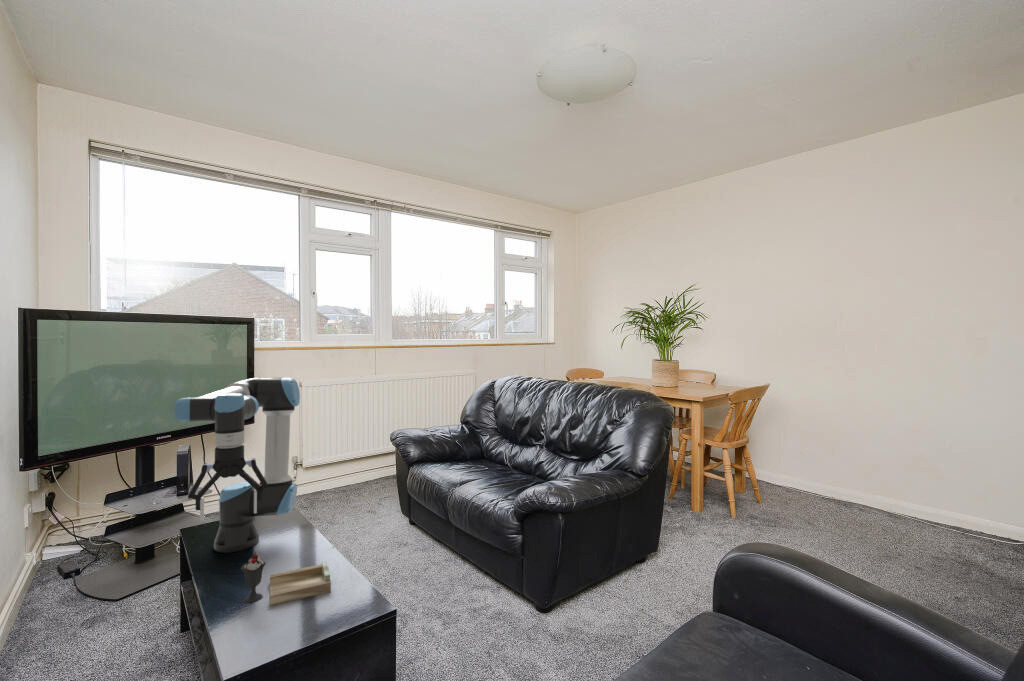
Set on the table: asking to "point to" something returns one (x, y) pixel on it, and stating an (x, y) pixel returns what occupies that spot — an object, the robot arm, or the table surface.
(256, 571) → the sundae
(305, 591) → the rest
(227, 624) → the table surface
